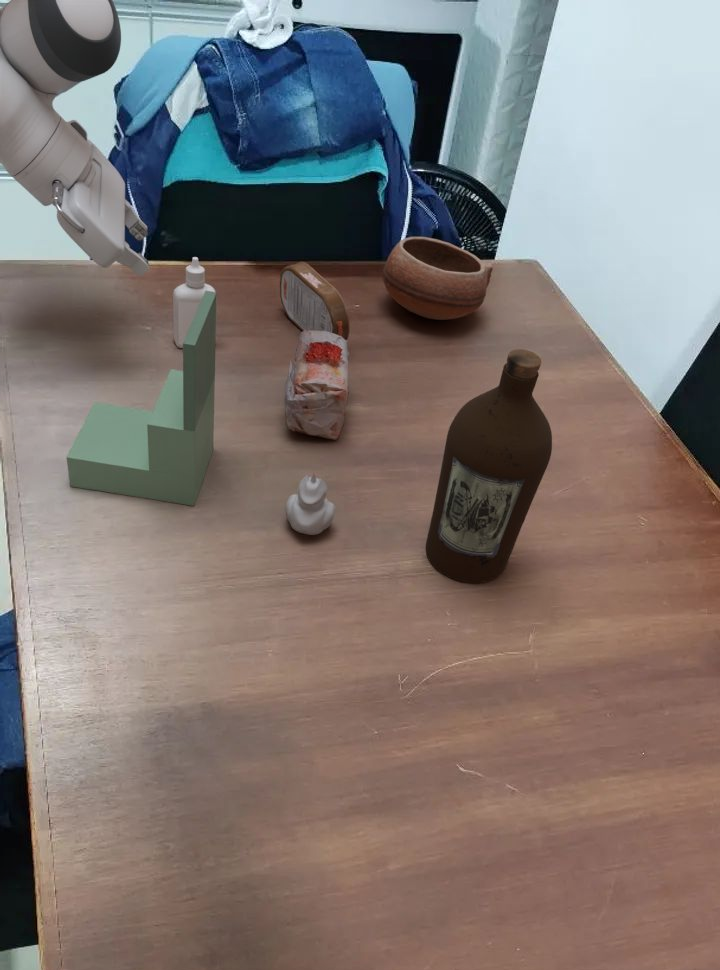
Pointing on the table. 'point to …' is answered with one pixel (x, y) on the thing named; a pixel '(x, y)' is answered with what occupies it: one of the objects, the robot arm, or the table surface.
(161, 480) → the step shelf
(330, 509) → the rubber duck
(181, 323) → the eye dropper bottle
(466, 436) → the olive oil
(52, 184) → the robot arm
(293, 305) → the tin
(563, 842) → the table surface
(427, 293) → the bowl
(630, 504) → the table surface
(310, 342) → the food item
